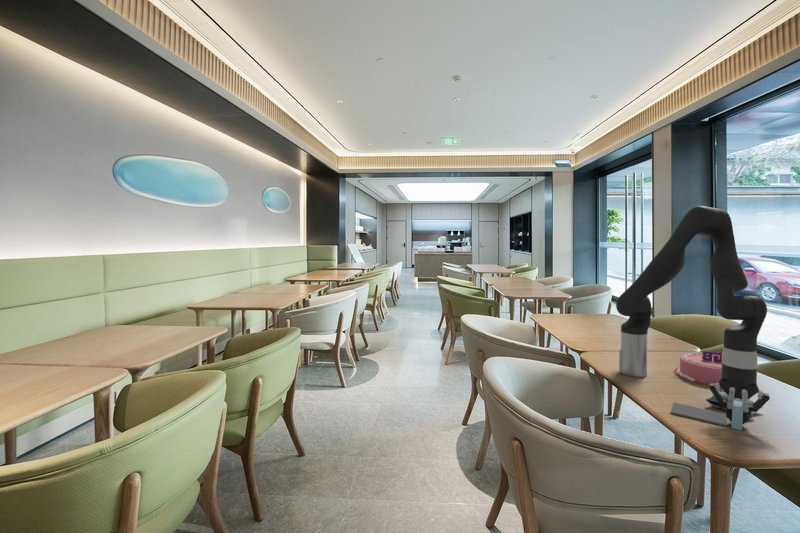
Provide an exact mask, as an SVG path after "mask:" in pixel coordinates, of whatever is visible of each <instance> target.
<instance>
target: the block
mask: <svg viewBox="0 0 800 533" xmlns="http://www.w3.org/2000/svg"><path fill="white" fill-rule="evenodd" d="M742 422H743V405H742V402H741V401H736V400H734V401H733V405H732V421H730V424H731V429H735V430H739V431H743V424H742Z"/></svg>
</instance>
